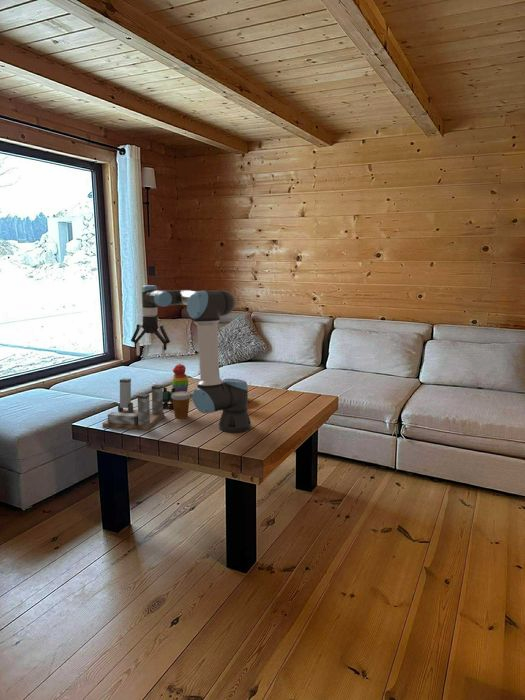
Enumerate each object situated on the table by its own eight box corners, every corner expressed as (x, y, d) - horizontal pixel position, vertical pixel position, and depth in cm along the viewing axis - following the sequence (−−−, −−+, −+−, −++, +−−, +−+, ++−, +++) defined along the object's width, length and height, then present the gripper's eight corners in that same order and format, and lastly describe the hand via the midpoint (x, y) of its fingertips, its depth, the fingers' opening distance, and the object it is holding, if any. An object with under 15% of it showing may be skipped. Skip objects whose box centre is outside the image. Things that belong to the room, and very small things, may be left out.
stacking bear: (171, 391, 288) (170, 362, 285) (188, 391, 290) (187, 362, 286) (171, 396, 277) (170, 366, 274) (188, 396, 279) (188, 366, 276)
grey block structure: (164, 415, 244) (163, 384, 241) (147, 430, 223) (146, 396, 220) (122, 412, 247) (120, 382, 244) (101, 427, 226) (99, 393, 223)
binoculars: (156, 392, 250) (162, 385, 260) (157, 411, 253) (163, 404, 263) (173, 393, 249) (178, 386, 259) (174, 412, 252) (179, 404, 262)
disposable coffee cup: (194, 416, 243) (194, 393, 241) (178, 421, 236) (178, 397, 234) (183, 412, 250) (183, 390, 247) (167, 416, 243) (167, 393, 241)
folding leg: (131, 406, 245) (130, 378, 244) (127, 408, 241) (127, 380, 240) (123, 405, 246) (123, 378, 244) (119, 407, 242) (119, 379, 240)
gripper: (175, 315, 252) (175, 355, 256) (129, 313, 254) (130, 353, 258) (171, 317, 245) (172, 358, 249) (123, 315, 247) (125, 356, 251)
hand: (150, 355), depth 254 cm, fingers open, 13 cm apart
